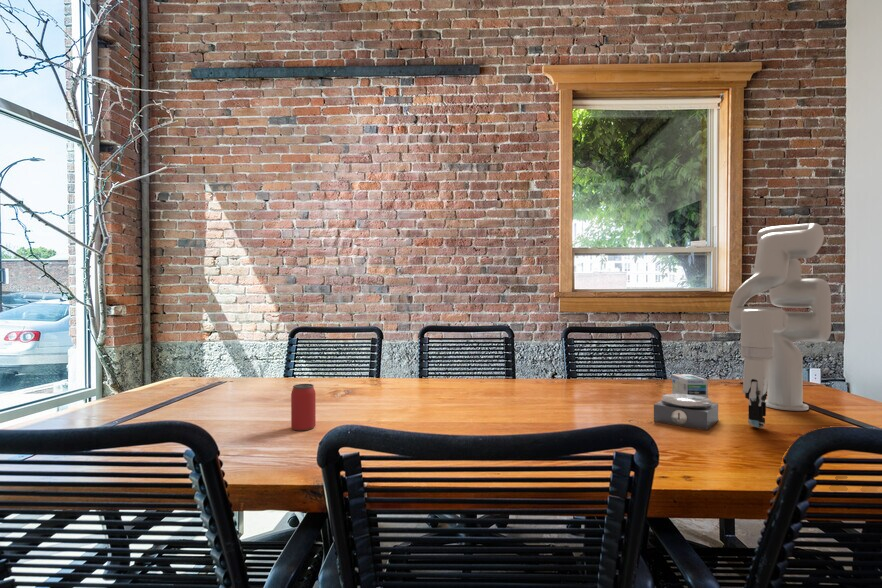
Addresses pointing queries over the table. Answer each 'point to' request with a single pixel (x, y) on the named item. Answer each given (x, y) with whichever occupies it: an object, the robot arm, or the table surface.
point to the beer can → (303, 407)
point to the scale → (686, 415)
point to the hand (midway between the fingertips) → (757, 417)
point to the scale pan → (686, 400)
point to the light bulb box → (689, 385)
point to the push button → (754, 422)
